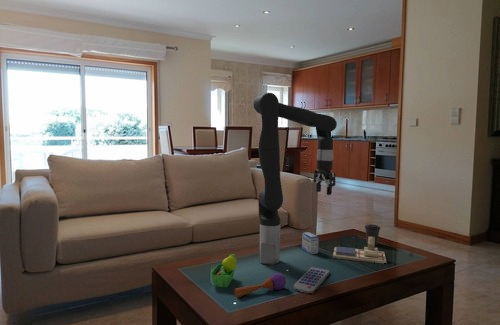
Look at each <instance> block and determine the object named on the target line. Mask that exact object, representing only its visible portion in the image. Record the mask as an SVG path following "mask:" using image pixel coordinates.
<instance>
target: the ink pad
mask: <svg viewBox="0 0 500 325" xmlns="http://www.w3.org/2000/svg"><path fill="white" fill-rule="evenodd" d="M335 247H336V255H346V256H355V249H356V248H355V247H348V246H347V247H345V246H335Z"/></svg>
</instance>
